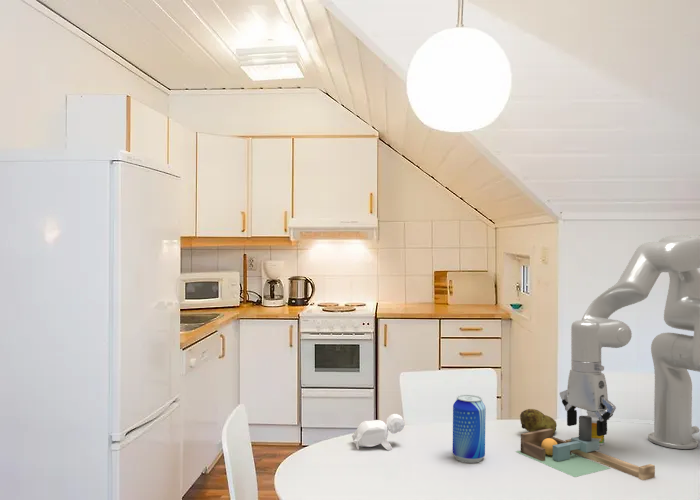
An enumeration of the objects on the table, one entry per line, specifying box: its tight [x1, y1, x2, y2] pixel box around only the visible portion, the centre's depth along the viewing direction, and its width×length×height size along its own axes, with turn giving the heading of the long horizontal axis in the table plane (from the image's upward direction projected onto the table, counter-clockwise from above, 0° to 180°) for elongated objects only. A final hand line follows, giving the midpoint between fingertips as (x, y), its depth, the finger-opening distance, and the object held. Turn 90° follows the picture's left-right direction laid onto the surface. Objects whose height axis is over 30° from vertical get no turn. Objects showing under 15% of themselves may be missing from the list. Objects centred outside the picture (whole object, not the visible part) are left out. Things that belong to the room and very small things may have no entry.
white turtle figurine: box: [351, 413, 405, 451], centre depth 162 cm, size 9×8×15 cm
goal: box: [520, 428, 573, 461], centre depth 157 cm, size 11×8×5 cm
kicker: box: [553, 415, 600, 461], centre depth 155 cm, size 14×5×10 cm, turn 118°
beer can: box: [452, 394, 487, 464], centre depth 153 cm, size 8×8×16 cm
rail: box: [564, 438, 656, 481], centre depth 150 cm, size 4×23×3 cm, turn 28°
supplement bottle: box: [585, 410, 605, 446], centre depth 167 cm, size 5×5×10 cm
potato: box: [519, 408, 558, 435], centre depth 174 cm, size 8×13×8 cm, turn 103°
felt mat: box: [515, 450, 611, 478], centre depth 152 cm, size 13×20×1 cm, turn 28°
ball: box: [541, 438, 557, 455], centre depth 156 cm, size 4×4×4 cm
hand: (586, 430), depth 157 cm, fingers open, 9 cm apart
